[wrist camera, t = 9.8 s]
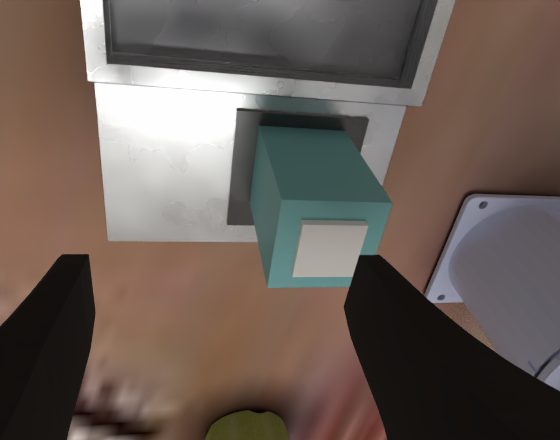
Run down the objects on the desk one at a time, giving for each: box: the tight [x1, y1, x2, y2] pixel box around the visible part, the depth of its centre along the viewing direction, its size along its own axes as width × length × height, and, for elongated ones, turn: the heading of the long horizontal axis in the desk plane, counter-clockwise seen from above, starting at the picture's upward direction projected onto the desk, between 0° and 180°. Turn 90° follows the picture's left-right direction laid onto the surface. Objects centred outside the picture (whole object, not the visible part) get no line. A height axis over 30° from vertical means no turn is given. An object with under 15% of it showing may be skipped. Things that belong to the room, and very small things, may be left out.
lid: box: [93, 81, 409, 242], centre depth 22 cm, size 13×8×1 cm, turn 82°
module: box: [250, 126, 392, 288], centre depth 19 cm, size 4×4×6 cm
